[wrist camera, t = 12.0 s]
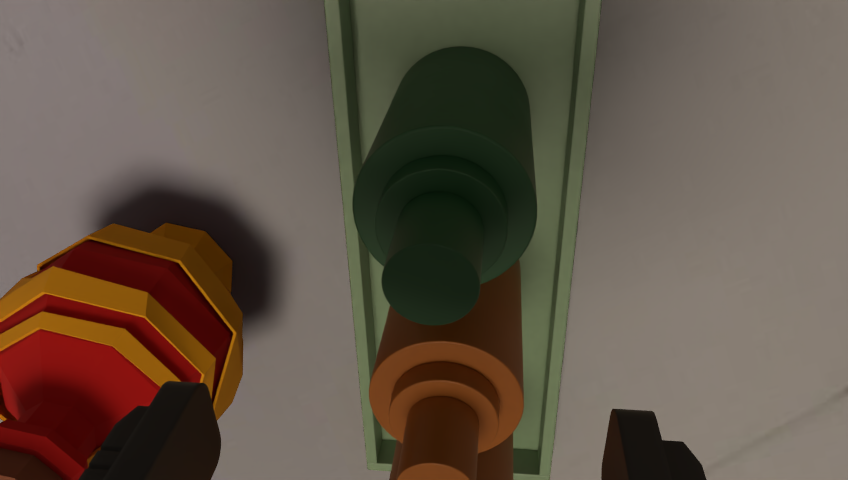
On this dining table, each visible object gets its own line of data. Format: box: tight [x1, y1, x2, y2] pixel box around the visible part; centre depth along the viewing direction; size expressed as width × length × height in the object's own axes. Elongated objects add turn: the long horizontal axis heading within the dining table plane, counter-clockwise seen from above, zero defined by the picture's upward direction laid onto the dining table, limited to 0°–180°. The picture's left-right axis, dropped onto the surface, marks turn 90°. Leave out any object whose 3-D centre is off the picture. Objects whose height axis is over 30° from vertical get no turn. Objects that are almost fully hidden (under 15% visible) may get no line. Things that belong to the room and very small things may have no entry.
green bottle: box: [352, 46, 537, 325], centre depth 23 cm, size 6×6×13 cm
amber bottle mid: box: [369, 259, 524, 480], centre depth 27 cm, size 6×6×13 cm
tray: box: [324, 0, 602, 480], centre depth 31 cm, size 29×10×2 cm, turn 1°
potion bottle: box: [0, 223, 243, 480], centre depth 29 cm, size 10×10×15 cm
